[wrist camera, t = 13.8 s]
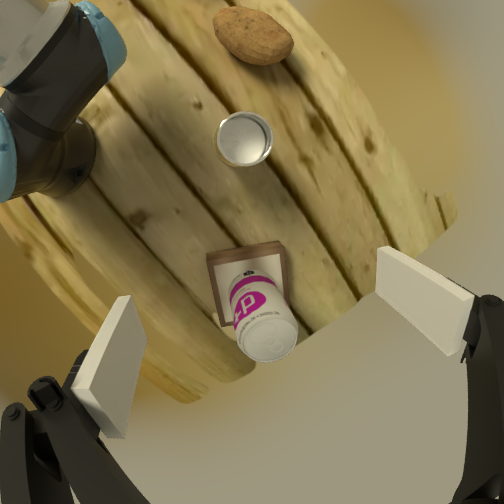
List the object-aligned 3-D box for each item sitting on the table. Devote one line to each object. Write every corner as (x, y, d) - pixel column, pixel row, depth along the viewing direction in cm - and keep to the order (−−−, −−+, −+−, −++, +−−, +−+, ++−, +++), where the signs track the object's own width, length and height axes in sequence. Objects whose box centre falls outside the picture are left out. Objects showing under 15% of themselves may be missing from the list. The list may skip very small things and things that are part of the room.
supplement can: (218, 288, 46) (223, 341, 32) (256, 258, 46) (278, 301, 32) (247, 319, 49) (263, 375, 35) (284, 291, 48) (313, 340, 34)
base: (219, 316, 53) (221, 327, 49) (206, 253, 49) (206, 261, 45) (284, 303, 54) (290, 313, 50) (278, 240, 50) (284, 247, 46)
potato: (231, 10, 35) (236, -12, 27) (295, 48, 39) (310, 31, 32) (198, 44, 37) (197, 24, 29) (265, 83, 41) (276, 69, 33)
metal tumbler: (251, 123, 43) (271, 106, 29) (257, 163, 45) (279, 163, 31) (209, 129, 42) (210, 113, 28) (216, 169, 44) (219, 172, 30)
